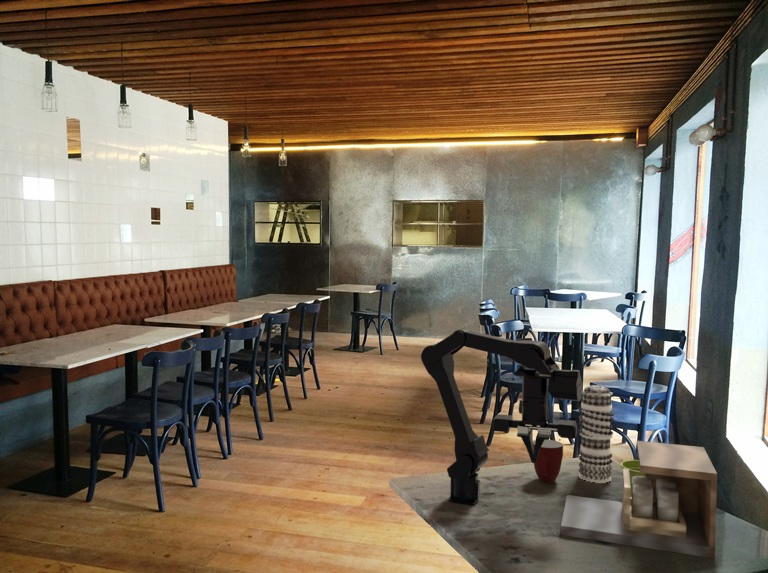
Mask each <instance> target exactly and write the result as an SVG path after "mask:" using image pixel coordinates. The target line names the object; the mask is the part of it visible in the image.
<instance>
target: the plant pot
mask: <svg viewBox="0 0 768 573" xmlns="http://www.w3.org/2000/svg"><path fill="white" fill-rule="evenodd" d="M620 467H621V468H622V469H623V468H624V469H629V477H630V487H631V490H630V497H632V477H634V476H643V477H645V473H641V472H640V466H639V459H628V460H624V461H621V463H620Z"/></svg>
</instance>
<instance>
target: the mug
mask: <svg viewBox="0 0 768 573" xmlns="http://www.w3.org/2000/svg"><path fill="white" fill-rule="evenodd" d="M535 441H536V439H535V440H533V448H534V449H535ZM563 456H564V445H563V443H562V442H560V441H557V440H553V439H549V440H544V442H543V444H542V446H541V448H540V451H539V454H538V457H537V460H536V463H533V466H534V471H535V473H536V474H535V475H537V478H538V479H539V481H541V483H546V484H547V483H548V484H549V483H554V482H556V479H557V478H558V476H559V474H560V471H561V466H562V460H563Z"/></svg>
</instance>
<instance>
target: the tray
mask: <svg viewBox="0 0 768 573" xmlns="http://www.w3.org/2000/svg"><path fill="white" fill-rule="evenodd" d="M630 490H631V487H630V477H629V469H624V468H622V501H621V502H622V509H623V528H624V529H627V530H634V531H641V532H648V533H655V534H662V535H669V536H676V537H683V538H686V523H685V520H684V516H683V513H682V510H681V506H680V503H678V501H679V491H678V490H676V482H674V481H672V480H669V479H657V480H656V500H653V488H652V487H651V479H650V478H647V477H643V476H634V477H632V497H630Z"/></svg>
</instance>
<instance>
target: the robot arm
mask: <svg viewBox="0 0 768 573" xmlns="http://www.w3.org/2000/svg"><path fill="white" fill-rule="evenodd" d="M464 347H465V348H469V349H473V350H478V351H482V352H486V353H489V354H494V355H499V356H501V357H505V358H508V359H510V360H511V361H513V362H514V363H516V364H519V365H520V366H519V367H518V369H516V370H515V371H514V372H513V375H514V376H515V377H522V383H521V384H522V387H521V388H522V389H521V390H522V392H521V394H522V395H521V399H520V400H519V403H518V413H519V414H520V415H521V419H520V420H519V419H513V415H511V414H502V413H501V414H497V415H496V416H495V417H494V418H493V419H492V422H491V425H492V426H491V431H494V432H501V433H502V432H503V433H506V432H507V431H508V430H509V429H510V428H511V429H516V430H517V433H516V437H517V438H521V440H522V442H523V444H524V445H525V446H524V447H525V448H526V451H527V453H528V456H529V459H530V462H531V464H534V463H536V460H537V457H538V454H539V451H540V448H541V446H542V444H543V442H544V440H551V439H550V438H551V435H552V433H557V435H558V436H559V437H560V438H563V439H572V440H573V439H575V440H576V439H577V434H578V424H577V422H576V421H575V420H565V419H559V421H558V422H557V423H554V422H549V421H550V418H549V416H550V415H549V414H550V410H549V407H548V399H549V398H548V395H550V396H552V398H553V399H558V400H567V401H576V402H581V401H582V391H583V390H584V389H583V387H584V384H583V382H582V377H581V370H579V369H571V370H569V369H560V366H559V365H558V364H557V362H556V360H555V359H554V358H553V357H552V354H551V353H552V352H551V349H550V347H549V345H548V344H547V343H546V342H545V341H542V340H512V339H507V338H505V337H504V338H503V337H499V336H495V335H490V334H486V333H481V332H477V331H472V330H470V329H469V328H460V329H456V330H454V332H453V333H452V334H450V335H449V336H447V337H445V338H443V339H442V340H440V341H439V342H437V343H435V344H430V345H427V346H425V347H424V348H423V350H422V351H421V354H420V359H421V362H422V365H423V366H424V368H425V370H426V372H427V373H428V375H429V376H430V377H431V378H432V379H433V380H434V381H435V383H436V386H437V388H438V389H437V390H438V392H439V395H440V397H441V401H442V403H443V406H444V408H445V412H446V416H447V419H448V421H449V424H450V427H451V430H452V432H453V435H454V445H453V446H454V448H453V450H454V451H453V452H454V456H455V461H454V462H453V463H451V464H450V465H449V466H448V467H447V468H446V472H447V474H448V475H447V476H448V477H449V478H450V494H449V495H450V496H449V497H448V502H451V503H452V502H453V503H460V504H467V505H475V504H476V502H477V501H478V500H479V499H480V497H481V480H480V479H479V473H478V472H479V471H480V470H481V468H482V467H483V466H484V465H485V464H486V463H487V461H488V459H489V455H488V454H489V453H488V452H489V451H490V449H489V447H488V446H487V444H486V440H485V436H484V435H483V434H481V435H480V436H479V435H477V433H475V431H474V430H473V428H472V425H471V424H472V423H471V422H470V419H469V416H468V413H467V411H466V407H465V405H464V402H463V399H462V396H461V393H460V390H459V387H458V385H457V381H456V379H455V362H454V355H455V354H457V353H459V352H460V351H461V350H462V349H463V348H464ZM534 431H537V434H536V436H535V440H536V441H535V440H533V434H534V433H533V432H534ZM533 441H535V449H534V448H533Z"/></svg>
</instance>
